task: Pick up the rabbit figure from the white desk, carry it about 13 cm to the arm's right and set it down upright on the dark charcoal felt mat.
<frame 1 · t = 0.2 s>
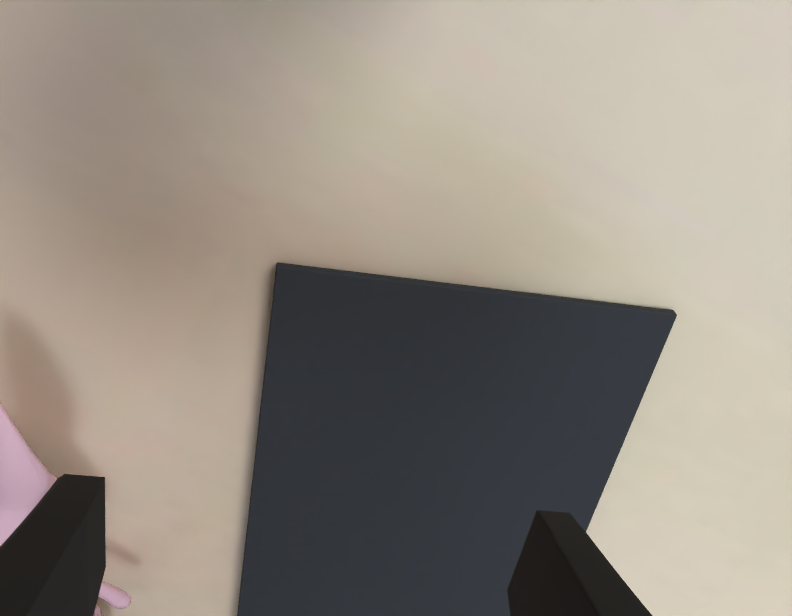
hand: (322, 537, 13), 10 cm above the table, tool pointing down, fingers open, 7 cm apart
rabbit figure: (34, 500, 25), on the table
desk mat: (418, 530, 27), on the table
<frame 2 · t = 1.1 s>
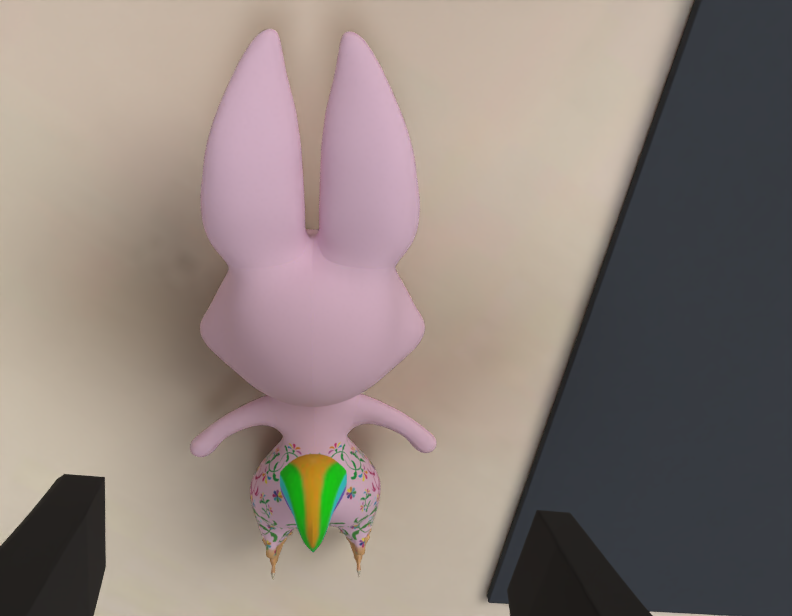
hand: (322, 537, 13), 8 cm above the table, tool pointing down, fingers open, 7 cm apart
rabbit figure: (315, 314, 19), on the table
desk mat: (773, 369, 21), on the table
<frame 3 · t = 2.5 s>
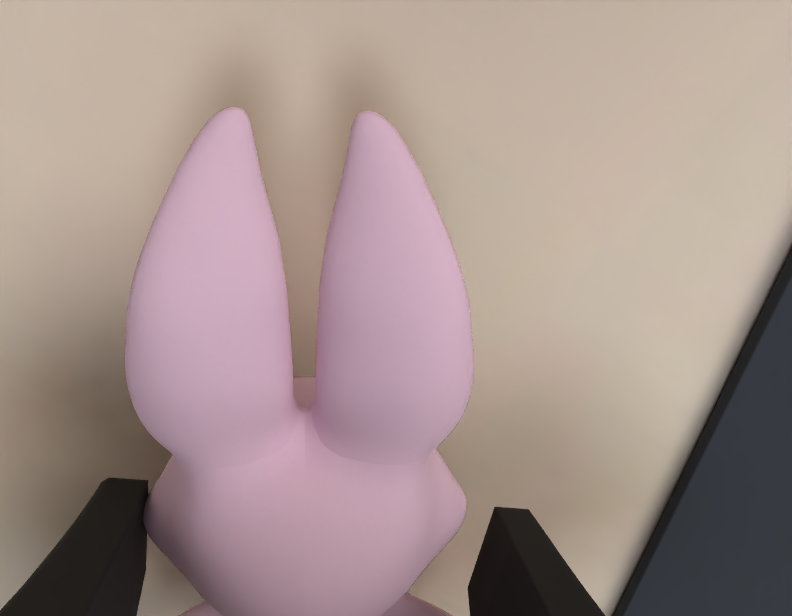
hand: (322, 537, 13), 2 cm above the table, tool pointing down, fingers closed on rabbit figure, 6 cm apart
rabbit figure: (309, 463, 14), on the table, touching gripper
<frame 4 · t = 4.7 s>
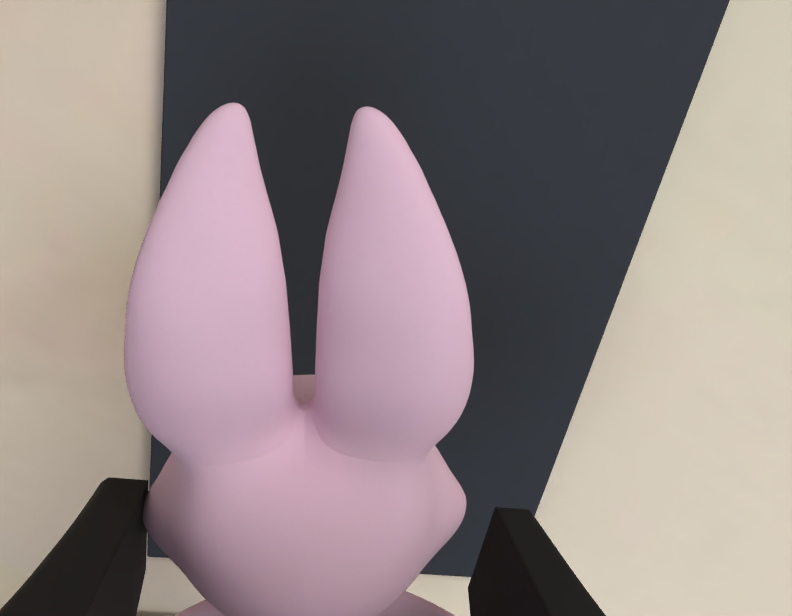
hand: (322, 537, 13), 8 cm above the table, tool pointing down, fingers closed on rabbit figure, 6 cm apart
rabbit figure: (309, 461, 14), point 7 cm above the table, touching gripper
desk mat: (390, 302, 20), on the table
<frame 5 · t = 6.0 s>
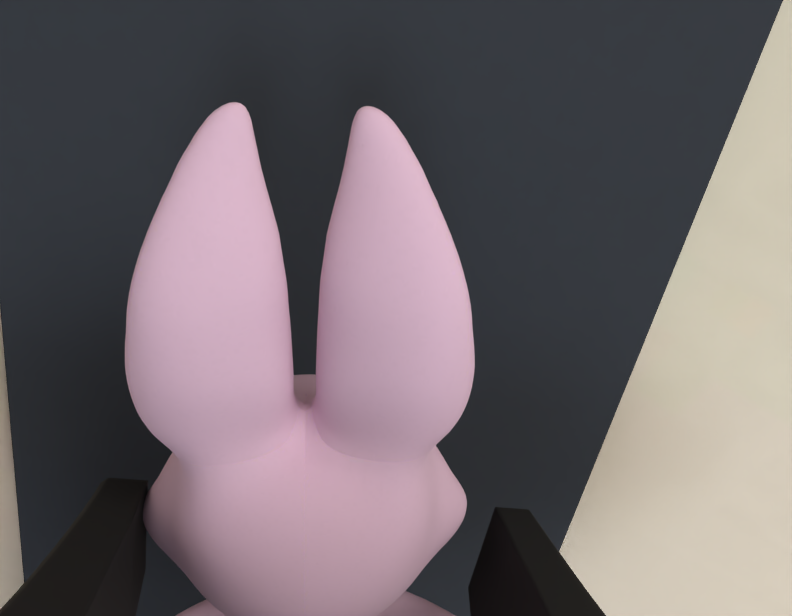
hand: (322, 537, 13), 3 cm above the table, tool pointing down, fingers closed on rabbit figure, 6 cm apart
rabbit figure: (309, 461, 14), point 2 cm above the table, touching gripper
desk mat: (322, 415, 15), on the table
when the fingers open (2 cm above the table, at t = 7.0 s): rabbit figure stays where it is, resting on desk mat.
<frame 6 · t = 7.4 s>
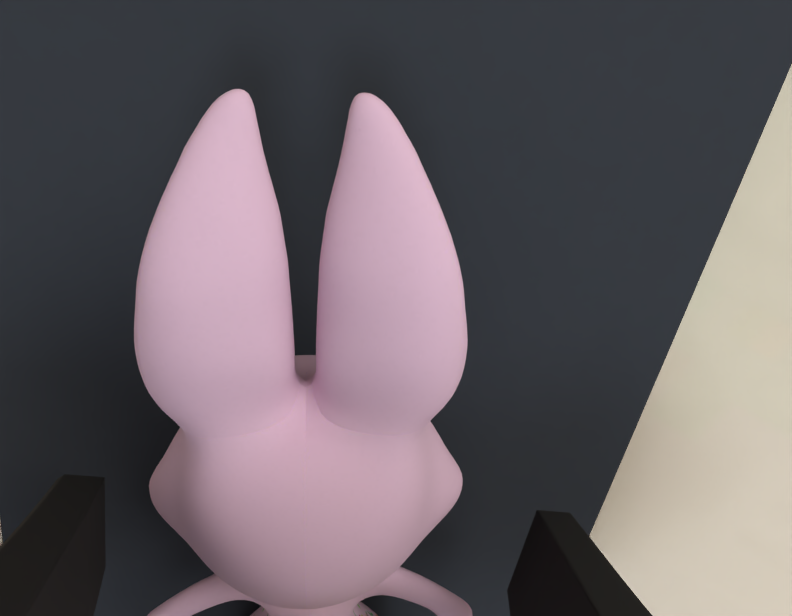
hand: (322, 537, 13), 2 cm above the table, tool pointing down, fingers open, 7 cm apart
rabbit figure: (311, 442, 15), resting on desk mat
desk mat: (323, 442, 15), on the table
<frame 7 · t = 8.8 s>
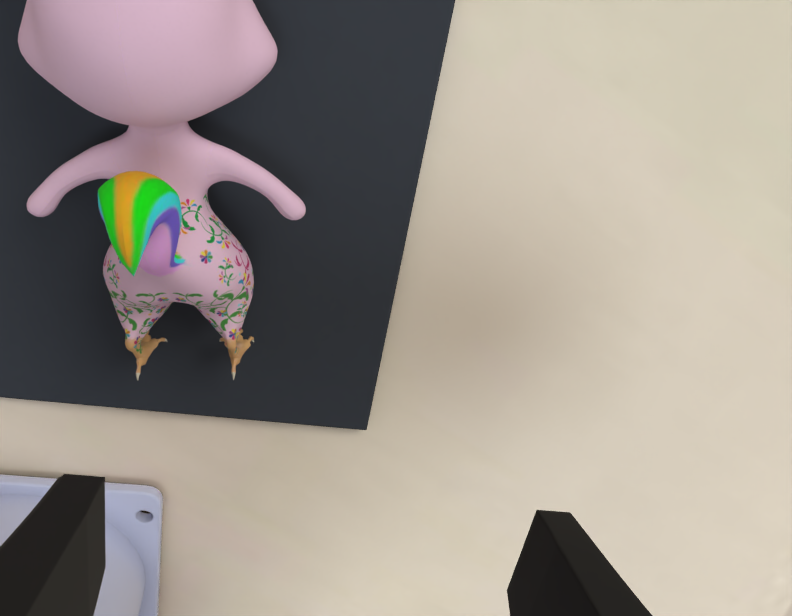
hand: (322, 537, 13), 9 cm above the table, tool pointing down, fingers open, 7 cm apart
rabbit figure: (170, 65, 18), resting on desk mat
desk mat: (182, 68, 18), on the table
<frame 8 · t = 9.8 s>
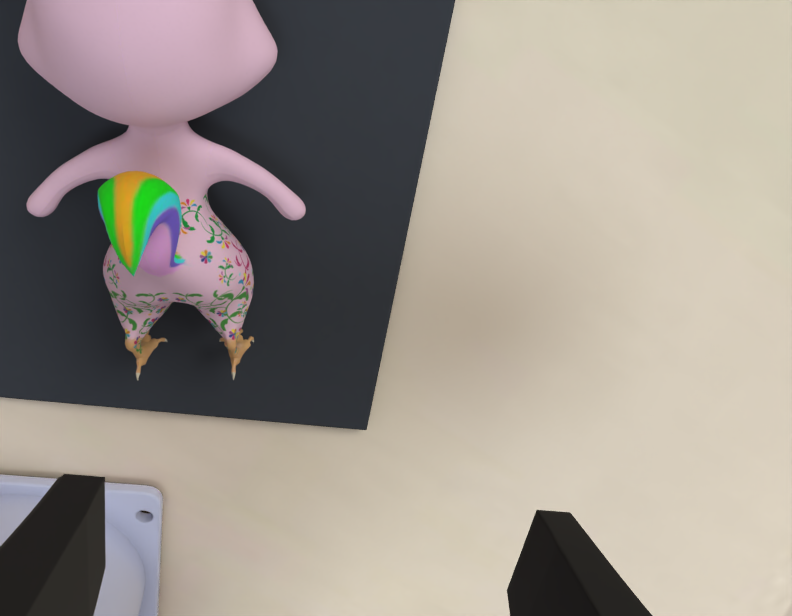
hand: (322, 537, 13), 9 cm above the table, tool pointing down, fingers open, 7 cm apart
rabbit figure: (170, 65, 18), resting on desk mat
desk mat: (182, 68, 18), on the table
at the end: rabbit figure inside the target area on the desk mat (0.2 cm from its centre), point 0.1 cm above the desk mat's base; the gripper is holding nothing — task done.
